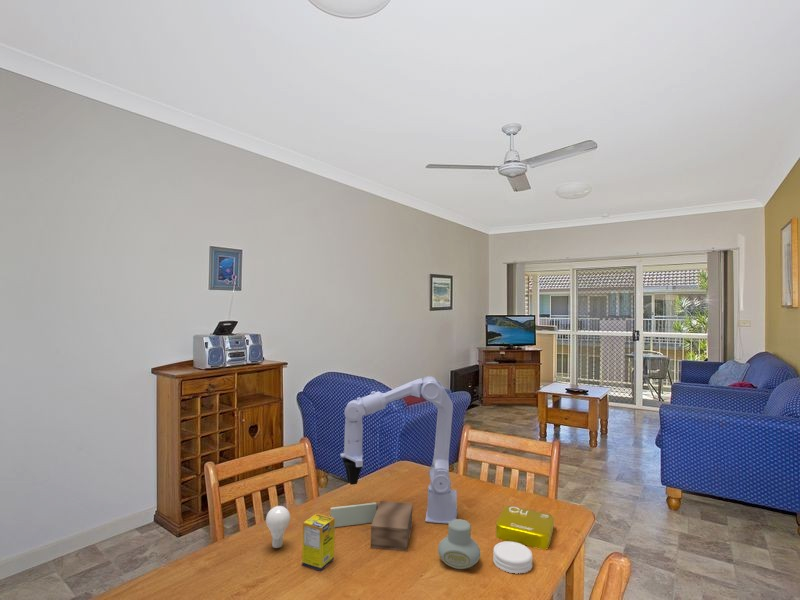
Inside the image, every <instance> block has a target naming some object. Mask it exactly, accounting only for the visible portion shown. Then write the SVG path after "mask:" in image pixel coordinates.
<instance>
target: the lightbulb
mask: <svg viewBox="0 0 800 600" xmlns="http://www.w3.org/2000/svg"><path fill="white" fill-rule="evenodd" d="M290 521H291V514H290V511H289V509H287V508H286V507H285V506H283V505H276V506H273V507H272V508H271V509H270V510H269V511H268V512H267V514H266V518H265V523H266V526H267V528H268V529H269V531H270V533H271V535H270V536H271V537H272V541H271V542H272V544H271V546H272V548H274V549H280V548H281V547H283V540H284V539H283V538H284V536H285V535H284V534H285V531H286V528H287V527H288V525H289V524H290Z"/></svg>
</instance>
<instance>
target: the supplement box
mask: <svg viewBox="0 0 800 600" xmlns="http://www.w3.org/2000/svg"><path fill="white" fill-rule="evenodd" d="M335 528H336V527H335V518H332V517H330V516H328V515H324V514H321V513H315V514H313V515H312V516H311V517H309V518H307V519H306V520H305V521H303V523H302V557H301V558H302V559H301V560H302V562H301V563H302V566H304V567H308V568H311V569H313V570H317V571H320V572H321V571H323V570H324V569H325V568H326V567H327V566H328V565H330V564H331V562H333V561H334V559H335V530H336V529H335Z"/></svg>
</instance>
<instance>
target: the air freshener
mask: <svg viewBox="0 0 800 600" xmlns="http://www.w3.org/2000/svg"><path fill="white" fill-rule="evenodd" d="M447 526H448V528H447V529H448V531H447V536H445V537H444V538H442V539H441V541H440V542H439V544H438V547H437V552H438V553H437V554H438V556H439V558H440V559H441V561H442V562H443V563H445V565H447V566H449V567H451V568H453V569H456V570H463V569H469V568H471V567H474V565H476V564H477V563H478V562H479V560H480V558H481V549H480V547H479V545H478V543H477V542H476V541H475V540H474V539H473V538H472V537H471V536H472V525H471V523H469V521H467V520H465V519H460V518H456V519H455V520H452V521H450V522H449V524H447Z"/></svg>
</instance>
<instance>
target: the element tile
mask: <svg viewBox="0 0 800 600" xmlns="http://www.w3.org/2000/svg"><path fill="white" fill-rule="evenodd" d="M554 518H555V517H554V516H553V515H552V514H551V513H545V512H541V511H536V510H531V509H527V508H522V507H518V506H511V505H506V506H504V507H503V508H502V510H501V512H500V514H499V516H498V518H497V520H496V522H495V538H497V539H498V538H499V539H498V540H500V539H502V540H501V541H504V540H506V541H510V542H516V543H520V544H523V545H524V546H525V545H527V546H526V547H529V546H532V547H531V548H533V547H537V548H542V549H546V548H548V547H549V548H550V546H549V545H550V544H551V542H552V538H553V534H552V533H554V530H555V529H554V525H555V524H554V523H555V519H554ZM553 529H554V530H553ZM551 537H552V538H551ZM550 541H551V542H550ZM537 548H536V549H537ZM549 548H548V549H549ZM546 550H547V549H546Z"/></svg>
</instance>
